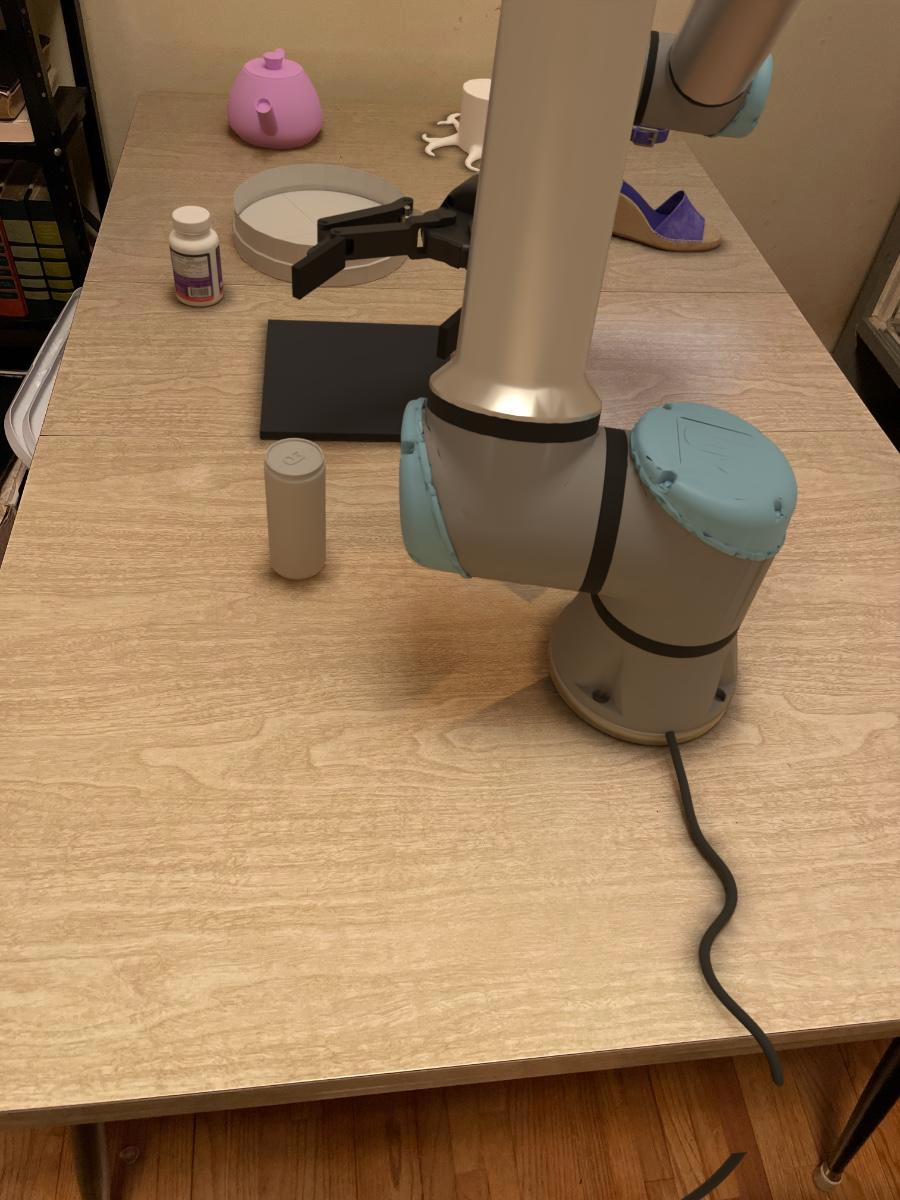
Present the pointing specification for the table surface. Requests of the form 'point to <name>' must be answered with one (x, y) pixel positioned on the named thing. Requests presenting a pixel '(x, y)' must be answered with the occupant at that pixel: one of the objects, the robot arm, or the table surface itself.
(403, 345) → the mat
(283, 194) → the dish
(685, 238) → the sandal
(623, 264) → the table surface
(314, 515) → the beverage can
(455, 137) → the tree stump
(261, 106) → the teapot
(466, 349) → the robot arm
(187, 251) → the pill bottle
